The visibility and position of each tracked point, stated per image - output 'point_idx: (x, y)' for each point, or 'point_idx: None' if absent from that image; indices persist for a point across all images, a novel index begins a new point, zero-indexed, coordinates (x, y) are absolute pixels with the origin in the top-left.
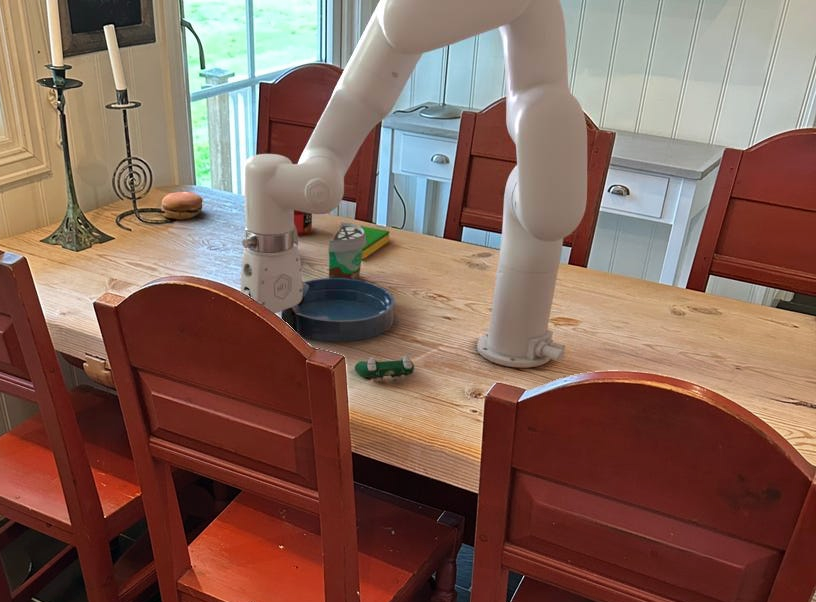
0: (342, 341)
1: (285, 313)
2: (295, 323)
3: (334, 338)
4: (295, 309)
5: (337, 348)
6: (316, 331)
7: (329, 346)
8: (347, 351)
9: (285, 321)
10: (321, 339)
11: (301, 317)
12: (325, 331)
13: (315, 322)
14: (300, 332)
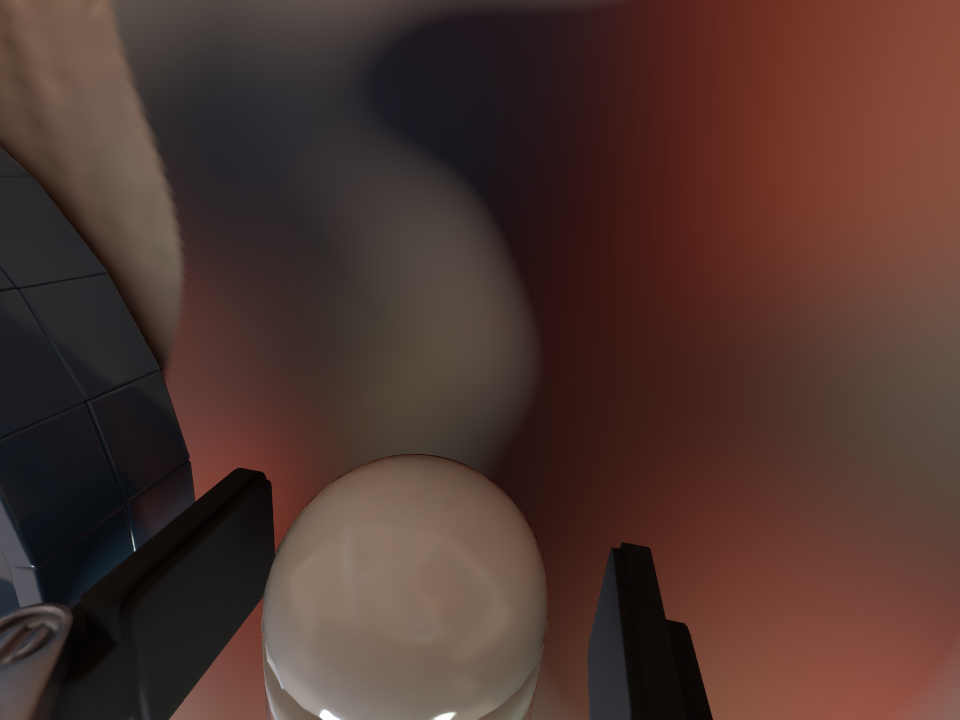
0: (6, 152)
1: (136, 704)
2: (166, 546)
3: (31, 210)
4: (11, 679)
5: (105, 126)
6: (85, 367)
7: (134, 206)
8: (71, 10)
9: (202, 632)
10: (120, 307)
11: (54, 561)
12: (25, 289)
13: (2, 410)
14: (176, 484)
